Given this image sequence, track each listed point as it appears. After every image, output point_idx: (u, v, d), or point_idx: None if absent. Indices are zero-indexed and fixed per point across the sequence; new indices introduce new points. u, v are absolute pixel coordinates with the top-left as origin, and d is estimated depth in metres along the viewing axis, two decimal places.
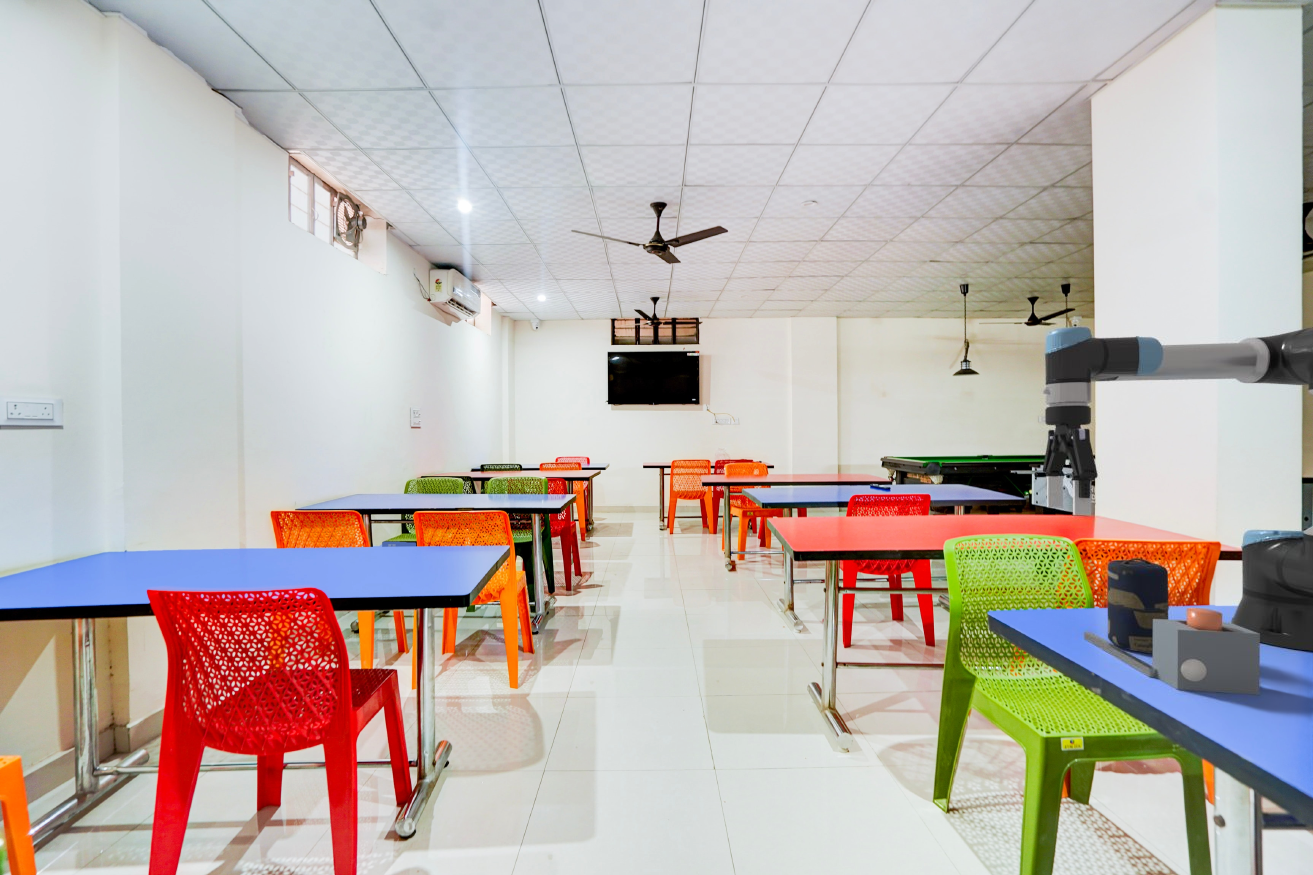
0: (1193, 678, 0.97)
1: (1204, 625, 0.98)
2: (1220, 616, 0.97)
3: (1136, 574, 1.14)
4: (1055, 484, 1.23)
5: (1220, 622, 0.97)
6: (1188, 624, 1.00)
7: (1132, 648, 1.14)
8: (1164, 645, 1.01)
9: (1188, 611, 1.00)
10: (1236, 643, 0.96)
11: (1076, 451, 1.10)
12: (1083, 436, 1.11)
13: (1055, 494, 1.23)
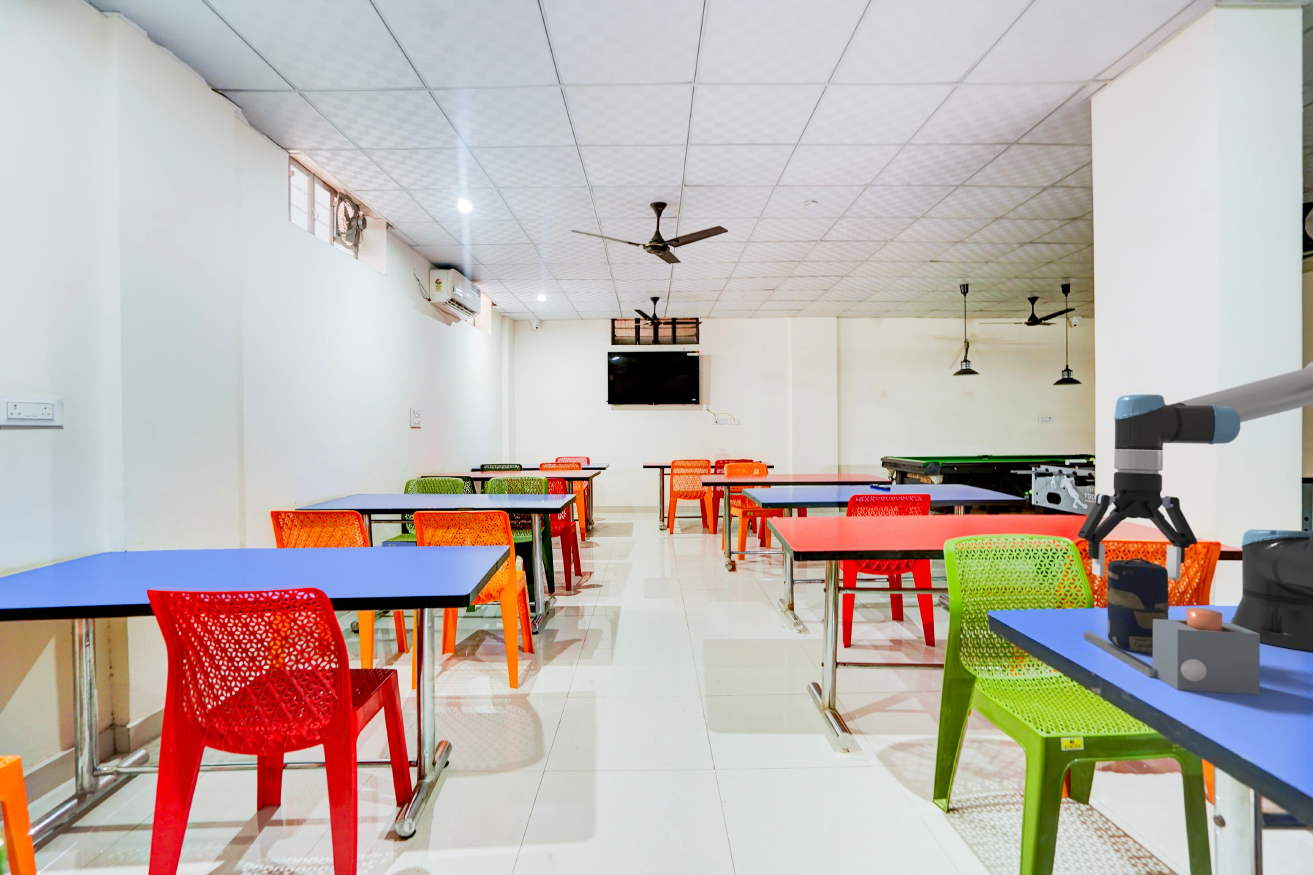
0: (1193, 678, 0.97)
1: (1204, 625, 0.98)
2: (1220, 616, 0.97)
3: (1136, 574, 1.14)
4: (1171, 554, 1.16)
5: (1220, 622, 0.97)
6: (1188, 624, 1.00)
7: (1132, 648, 1.14)
8: (1164, 645, 1.01)
9: (1188, 611, 1.00)
10: (1236, 643, 0.96)
11: None
12: (1099, 501, 1.18)
13: (1171, 565, 1.16)
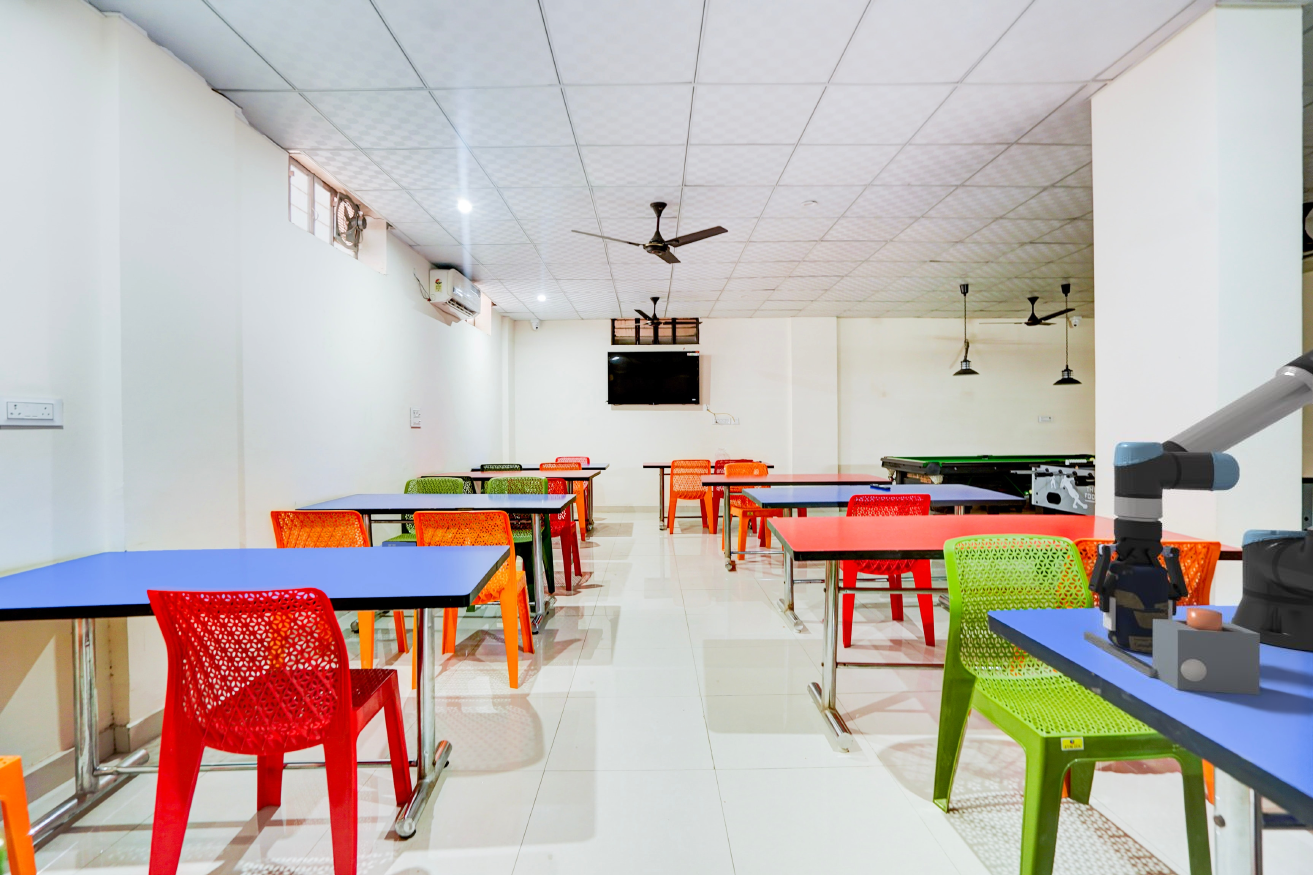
0: (1193, 678, 0.97)
1: (1204, 625, 0.98)
2: (1220, 616, 0.97)
3: (1136, 574, 1.14)
4: None
5: (1220, 622, 0.97)
6: (1188, 624, 1.00)
7: (1132, 648, 1.14)
8: (1164, 645, 1.01)
9: (1188, 611, 1.00)
10: (1236, 643, 0.96)
11: None
12: (1101, 552, 1.18)
13: None
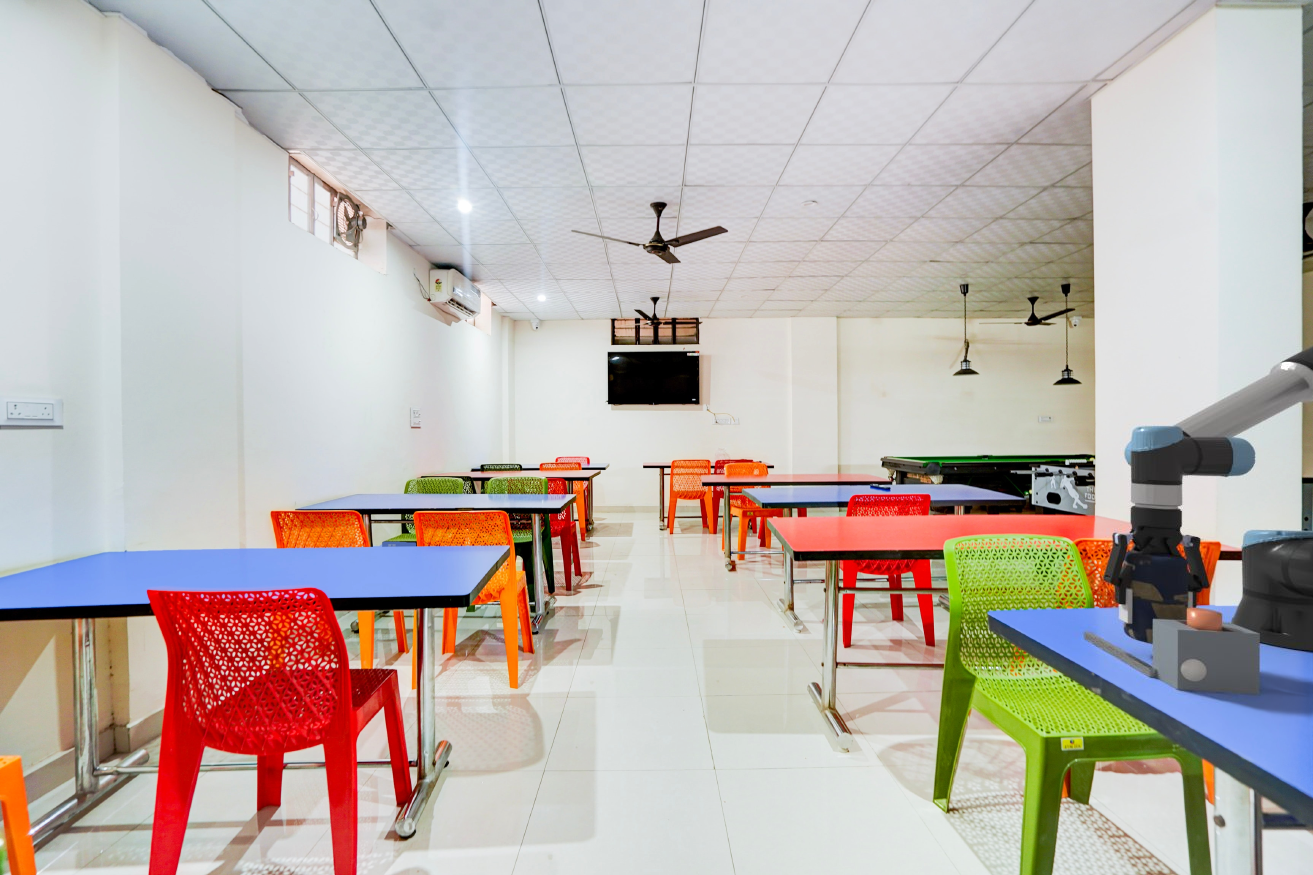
0: (1193, 678, 0.97)
1: (1204, 625, 0.98)
2: (1220, 616, 0.97)
3: (1154, 564, 1.09)
4: None
5: (1220, 622, 0.97)
6: (1188, 624, 1.00)
7: (1150, 642, 1.09)
8: (1164, 645, 1.01)
9: (1188, 611, 1.00)
10: (1236, 643, 0.96)
11: None
12: (1117, 541, 1.13)
13: None
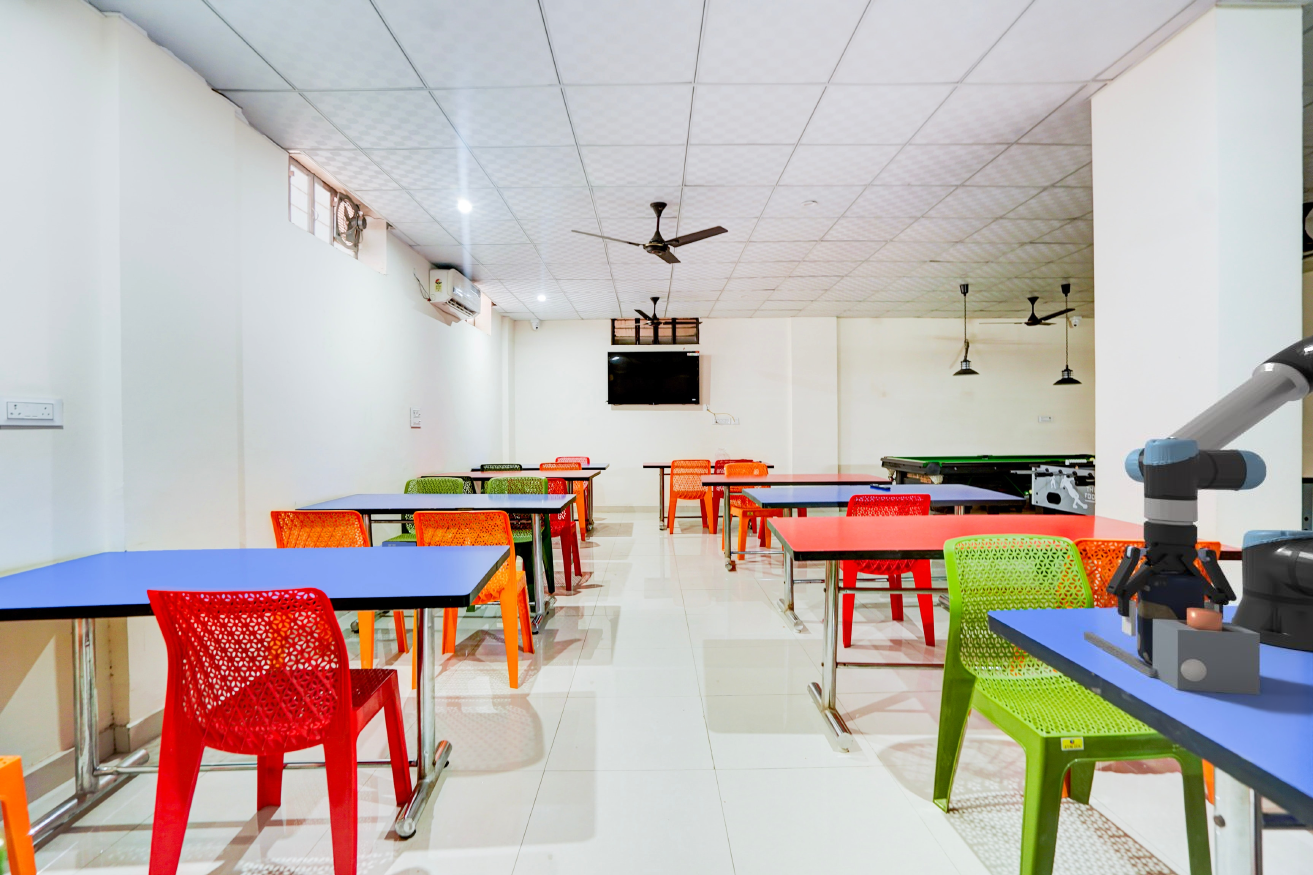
0: (1193, 678, 0.97)
1: (1204, 625, 0.98)
2: (1220, 616, 0.97)
3: (1170, 586, 1.05)
4: None
5: (1220, 622, 0.97)
6: (1188, 624, 1.00)
7: None
8: (1164, 645, 1.01)
9: (1188, 611, 1.00)
10: (1236, 643, 0.96)
11: None
12: (1129, 554, 1.09)
13: None
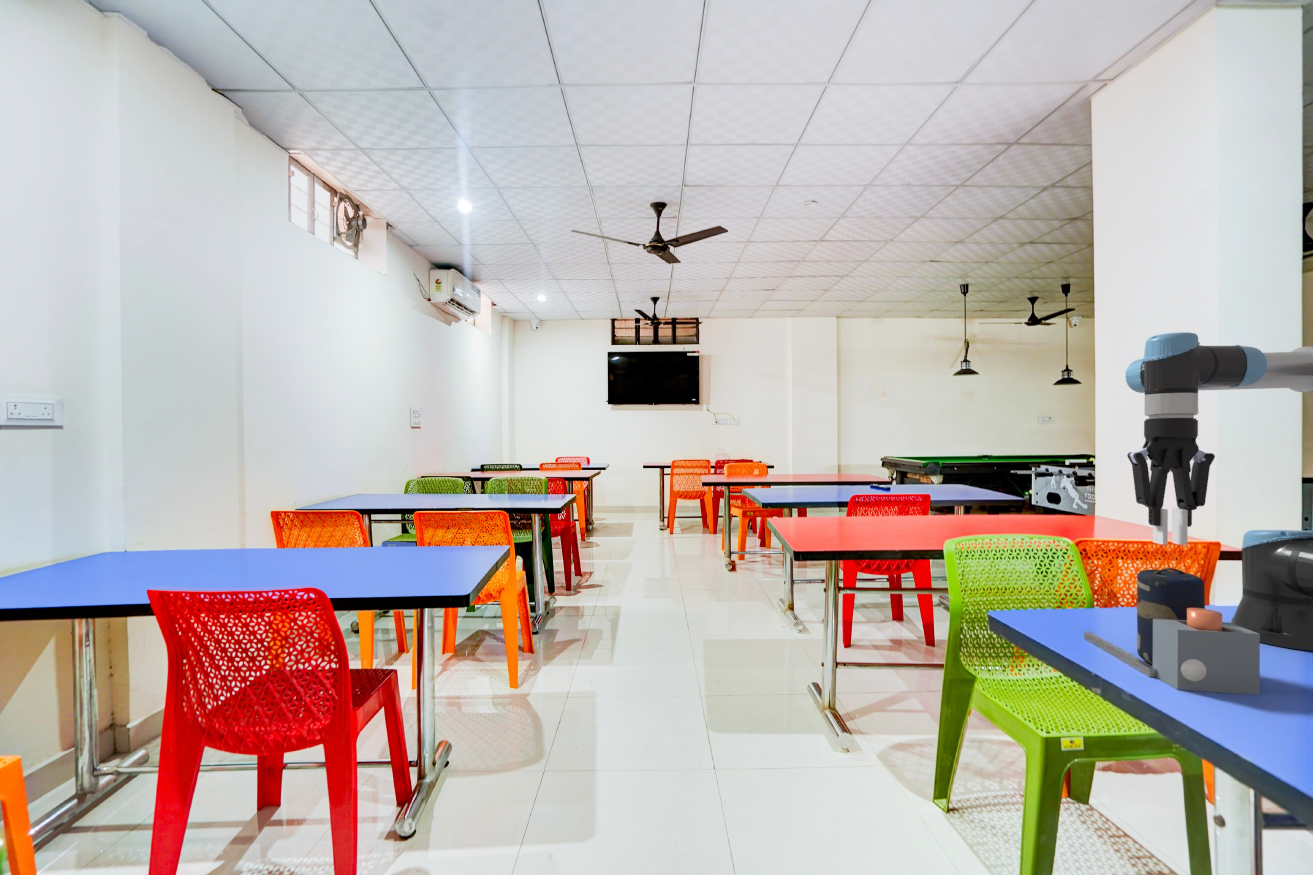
0: (1193, 678, 0.97)
1: (1204, 625, 0.98)
2: (1220, 616, 0.97)
3: (1170, 586, 1.05)
4: (1177, 517, 1.08)
5: (1220, 622, 0.97)
6: (1188, 624, 1.00)
7: None
8: (1164, 645, 1.01)
9: (1188, 611, 1.00)
10: (1236, 643, 0.96)
11: None
12: (1135, 461, 1.09)
13: (1177, 529, 1.08)
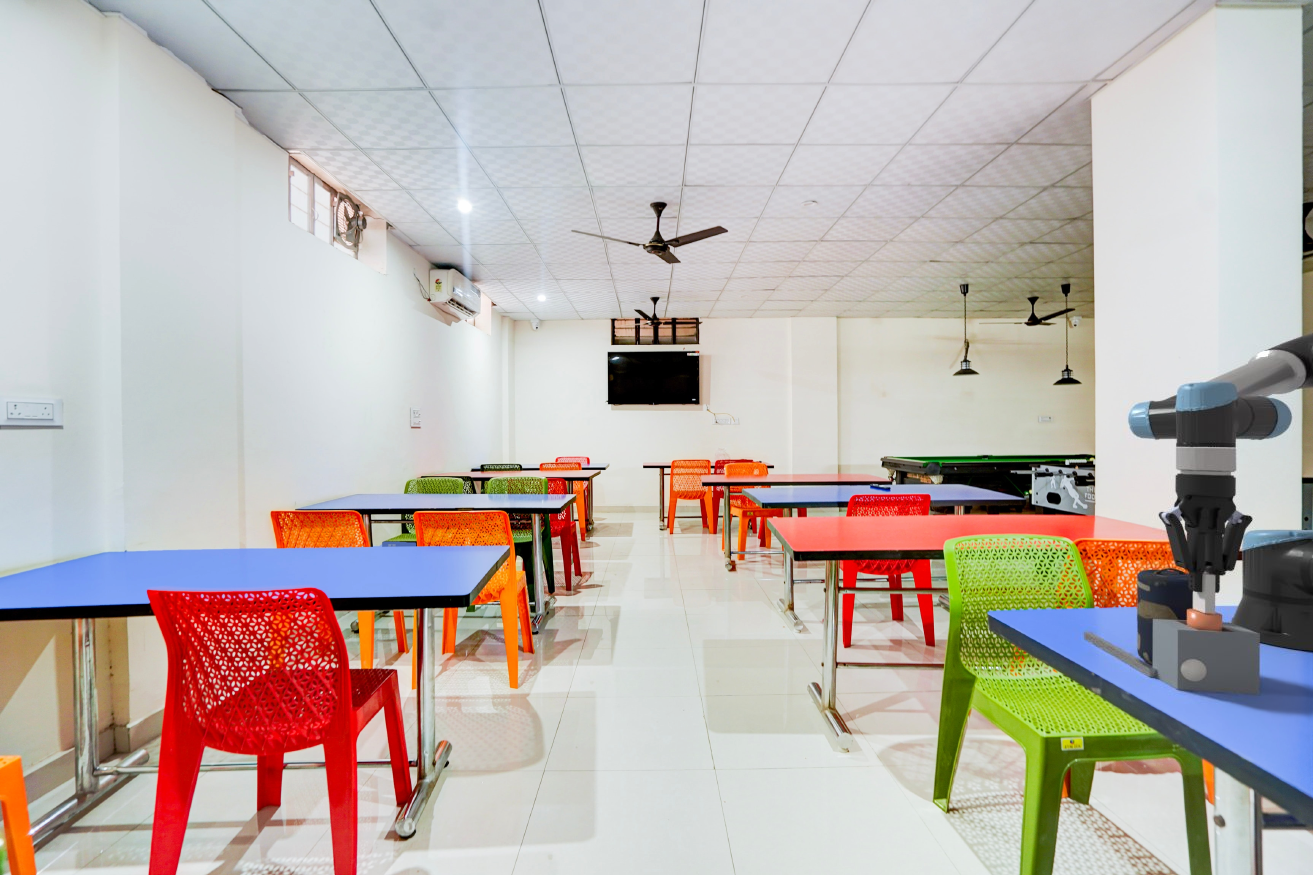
0: (1193, 678, 0.97)
1: (1204, 626, 0.98)
2: (1220, 617, 0.97)
3: (1170, 586, 1.05)
4: None
5: (1220, 623, 0.97)
6: (1188, 625, 1.00)
7: None
8: (1164, 645, 1.01)
9: (1188, 612, 1.00)
10: (1236, 643, 0.96)
11: None
12: (1168, 522, 1.00)
13: None
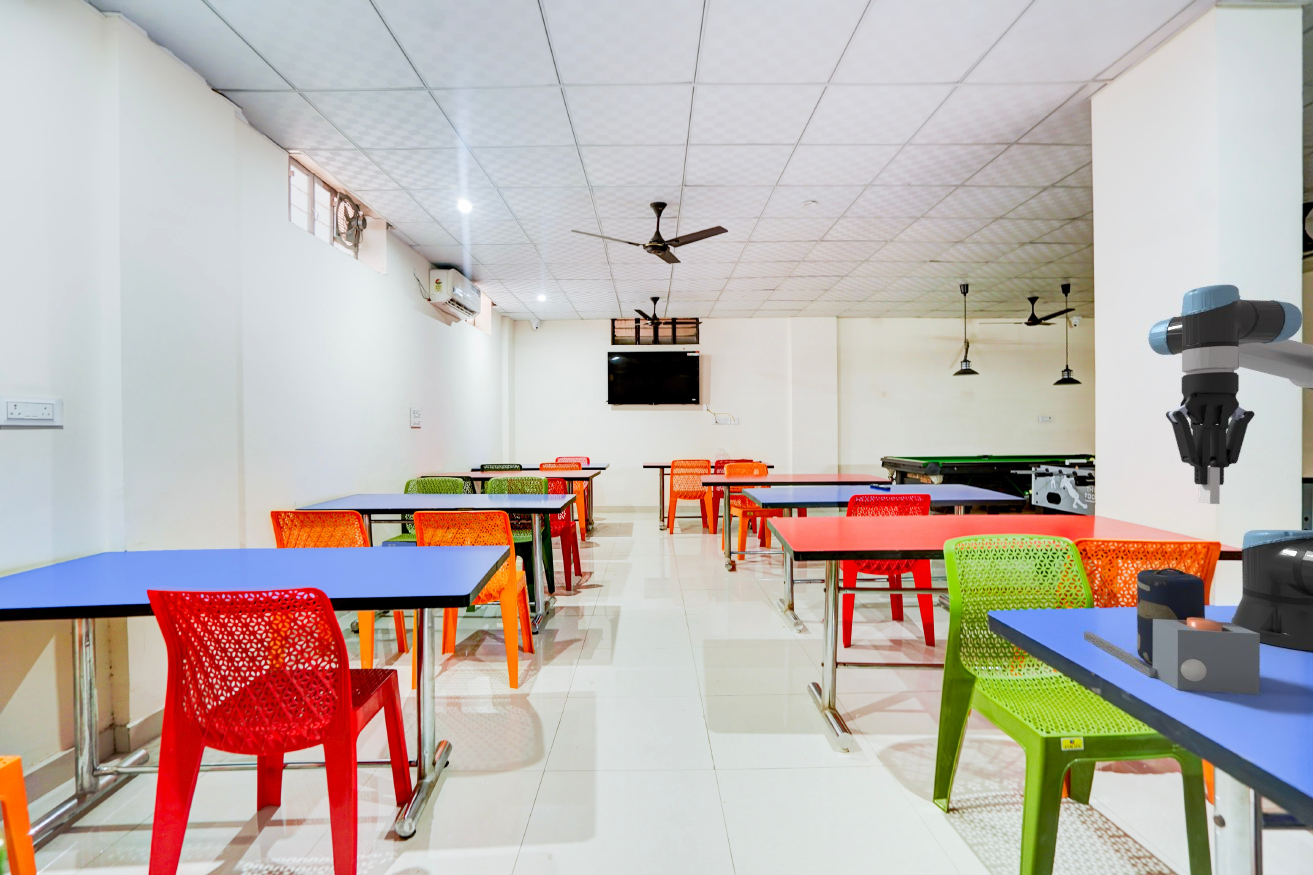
0: (1193, 678, 0.97)
1: None
2: (1220, 626, 0.97)
3: (1170, 586, 1.05)
4: None
5: None
6: None
7: None
8: (1164, 645, 1.01)
9: (1188, 621, 1.00)
10: (1236, 643, 0.96)
11: None
12: (1175, 420, 1.06)
13: None
